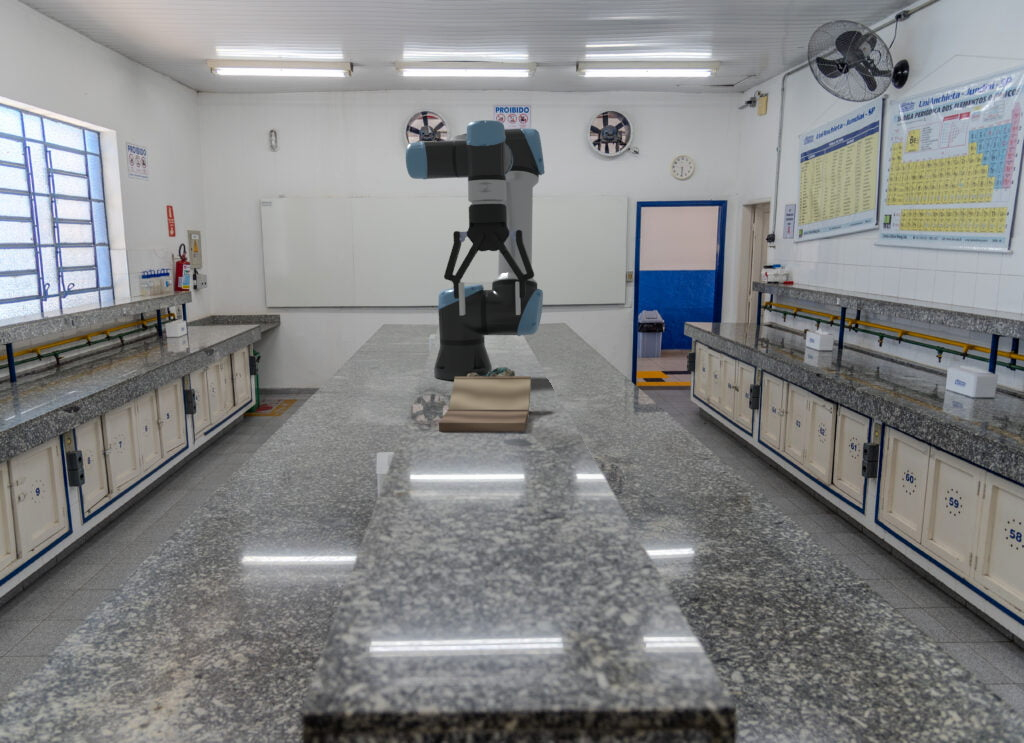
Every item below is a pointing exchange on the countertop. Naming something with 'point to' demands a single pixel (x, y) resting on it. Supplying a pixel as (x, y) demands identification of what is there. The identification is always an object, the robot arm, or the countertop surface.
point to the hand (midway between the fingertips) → (490, 314)
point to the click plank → (491, 393)
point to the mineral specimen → (497, 372)
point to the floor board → (484, 420)
